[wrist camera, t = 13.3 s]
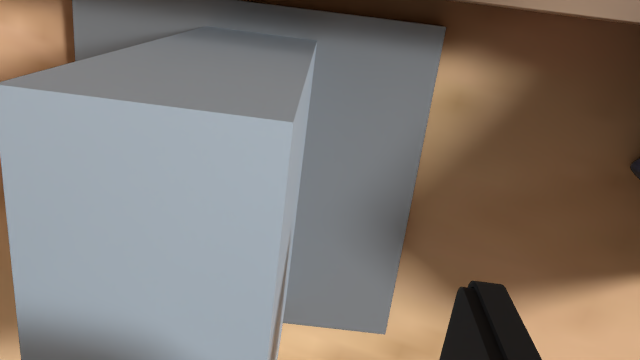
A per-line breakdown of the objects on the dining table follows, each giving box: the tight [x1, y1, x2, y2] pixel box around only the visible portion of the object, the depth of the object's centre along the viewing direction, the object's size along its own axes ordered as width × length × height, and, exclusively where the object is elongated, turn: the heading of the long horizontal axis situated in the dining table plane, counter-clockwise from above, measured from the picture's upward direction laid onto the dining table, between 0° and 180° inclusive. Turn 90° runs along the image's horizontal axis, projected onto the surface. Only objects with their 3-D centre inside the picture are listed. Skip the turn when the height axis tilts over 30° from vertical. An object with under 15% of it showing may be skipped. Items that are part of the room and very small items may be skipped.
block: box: [0, 26, 317, 360], centre depth 13 cm, size 4×10×11 cm, turn 173°
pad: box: [72, 0, 446, 334], centre depth 18 cm, size 12×12×1 cm
